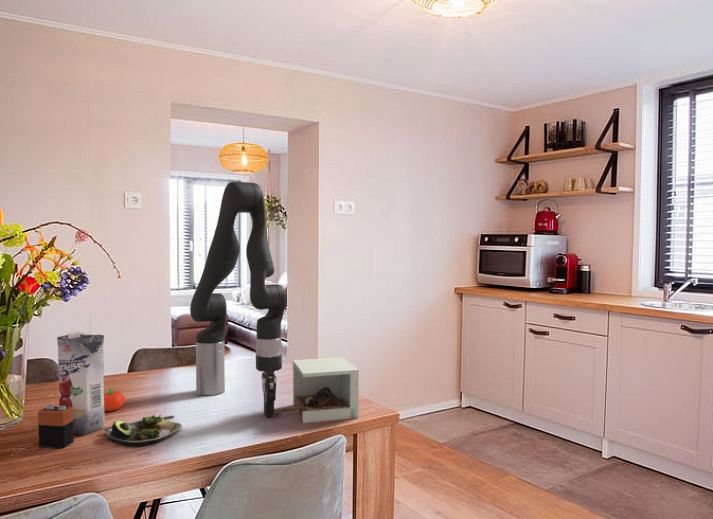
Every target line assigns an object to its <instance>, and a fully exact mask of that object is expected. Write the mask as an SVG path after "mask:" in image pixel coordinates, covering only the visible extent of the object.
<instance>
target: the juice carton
mask: <svg viewBox="0 0 713 519" xmlns="http://www.w3.org/2000/svg"><path fill="white" fill-rule="evenodd" d="M104 339H105V335H103V334H89V333H85V332H81V331H80V330H73V331H69V332H67V334H65V335H60V336H57V337H56V340H57V367H58V370H57V371H58V407H59V406H66V407H72V408H73V435H77V436H81V437H82V436H85V435H88V434H91V433H93V432H95V431H99V430H101V429H104V427H105V411H104V394H105V385H104V384H105V380H104V379H105V377H104V376H105V373H104V371H105V370H104Z"/></svg>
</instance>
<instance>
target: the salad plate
mask: <svg viewBox="0 0 713 519" xmlns="http://www.w3.org/2000/svg"><path fill="white" fill-rule="evenodd" d="M174 418H175V415H168V416H162V414H159V415H158V416H156V415H154V414H153V415H152V416H151V415H149V416H143V417H142V418H140V419H137V420H133V421H132V422H126V421H124V420H120V419H115V420H114V421H113V423H112V426H109V427H105V428H103V431H105V432H106V434H105V436H106V439H108V440H109V441H110V442H112V443H114V444H117V445H119V446H124V447H133V448H134V447H136V448H139V447H146V446H150V445H154V444H156V443H157V444H158V443H160V442H162V441H164V440H166V439H168V438H170V437H173V435H175V434H177V433H178V432H179V431H181V429H183V425H182V423H180V422H174V421H171V420H172V419H174ZM162 431H169V433H168V434H165V435H163V433H162ZM162 435H163V436H162Z"/></svg>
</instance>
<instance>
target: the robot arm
mask: <svg viewBox="0 0 713 519" xmlns="http://www.w3.org/2000/svg"><path fill="white" fill-rule="evenodd" d="M221 197H222V198H221V203H220V208H219V214H218V218H217V223H216V226H215V231H214V234H213V236H212V237H213V238H212V241H211V244H210V246H209V248H208V252H207V256H206V261H205V262H204V263H205V264H204V267H203V270H202V274H201V277H200V279H199V282H198V284H197V286H196V289H195V291H194V294H193V296H192V299H191V301H190V307H189V311H190V313H189V314H190V317H191V319H192V320H193V321H194V322H197V323H207V322H209V324H208V325H207V326H206V327H205V328H203V329H201V330H200V331H198V332H196V335H195V348H196V349H195V354H196V355H195V356H196V358H195V365H196V366H195V372H196V373H195V374H196V375H195V379H196V380H195V383H196V384H195V385H196V387H195V388H196V391H195V395H197V396H214V395H215V396H216V395H220V394H223V393H224V392H225V391H226V389H225V388H226V387H225V386H226V385H225V384H226V381H225V380H226V376H225V375H226V374H225V368H226V367H225V364H226V363H225V361H226V360H225V336H226V331H227V311H228V310H227V309H228V308H227V307H228V306H227V302H226V297H225V296H224V295H223V294H222V293H219V292H216V293H215V289H216V288H217V287H218V286H219V285H220V284H221V283H222V282H224V280H225V279H226V278H228V276H230V274H231V273H232V272H233V271H234V269H235V268H236V264H237V262H238V258H239V256H240V253H241V248H240V247H241V246H240V241H239V240H238V237H237V235H236V231H235V222H236V217H237V215H238V214H239V213H246V214H247V213H248V214H249V215H250V218H251V223H252V224H251V231H250V235H249V238H248V240H247V242H246V247H245V248H246V249H245V250H246V251H245V253H246V259H247V264H248V268H249V273H250V281H249V282H250V283H249V300H250V303H251V305H252V306H253V307H254V308H255V309H256V310H260V311H263V310H267V312H266V314H265V315H264V316H262V317H259V318H258V319H257V320H256V341H255V369H256V370H257V371H258V372H261V388H262V394H263V396H264V393H265V394H266V399H265V400H266V414H273V413H274V409H275V401H276V399H277V398H276V394H277V381H278V380H277V376H276V374H275V372H276V371H281V370H282V369H283V368H282V367H283V346H282V321H283V317H284V313H285V309H286V305H287V300H288V298H287V297H288V294H287V291H286V288H284V286H283V285H281V284H278V283H275V284H274V283H273V284H266V279H267V278H268V279H269V278H270V277H272V276H273V275H274V274H275V265H274V262H273V257H272V254H271V253H272V252H271V250H270V245H269V240H268V238H269V237H268V227H267V226H268V224H267V215H266V205H265V204H266V203H265V196H264V192H263V189H262V187H261V186H260V185H259V184H258V183H256V182H250V181H249V182H248V181H230V182H228V183H227V184H226V186H225V188H224V190H223V193H222V196H221ZM270 394H272V396H270V397H269V395H270ZM274 414H275V413H274Z"/></svg>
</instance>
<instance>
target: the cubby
mask: <svg viewBox="0 0 713 519" xmlns="http://www.w3.org/2000/svg"><path fill="white" fill-rule="evenodd" d="M359 377H360V376H359V369H358V368H357V367H356V366H355V365H353V364H352V363H351V362H350V361H348V360H347V359H346V358H345V357H344V356H343V357H326V358H324V357H322V358H308V359H307V358H306V359H294V360H292V405H293V407H296V396H306V395H316V394H317V392H318V391H319V390H321V389H323V388H324V387H327V388H329V389H330V390H331V392H332V393H333V394H334V395H335V396H336V397H337V398H338V399H339V401H340V402H341V403H342V404H343V405H344V406H345V408H333V409H322V410H310V411H302V416H301V418H302V419H301V420H302V423H303V424H306V423H319V422H327V421H340V420H350V419H359V408H360V407H359V406H360V405H359V402H360V400H359V399H360V398H359V394H360V392H359V389H360V388H359V385H360V384H359V381H360V380H359Z"/></svg>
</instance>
